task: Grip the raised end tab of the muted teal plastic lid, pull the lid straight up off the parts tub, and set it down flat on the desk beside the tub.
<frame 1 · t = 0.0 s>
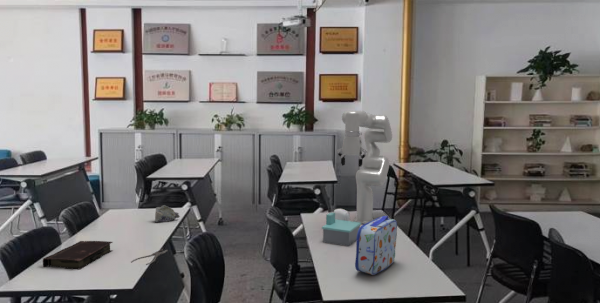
hand: (351, 165, 247), 37 cm above the table, tool pointing down, fingers open, 9 cm apart
mineral rock: (166, 221, 271), on the table
diary: (80, 259, 207), on the table
lunch box: (376, 268, 197), on the table
lid: (341, 229, 235), point 5 cm above the table, touching tub
photo printer: (341, 231, 252), on the table
pliers: (149, 257, 209), on the table
tub: (341, 239, 236), on the table
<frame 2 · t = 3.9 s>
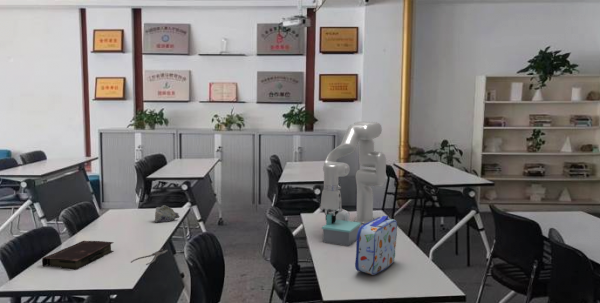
hand: (330, 222, 238), 9 cm above the table, tool pointing down, fingers closed on lid, 2 cm apart
lid: (341, 229, 235), point 5 cm above the table, touching gripper, tub
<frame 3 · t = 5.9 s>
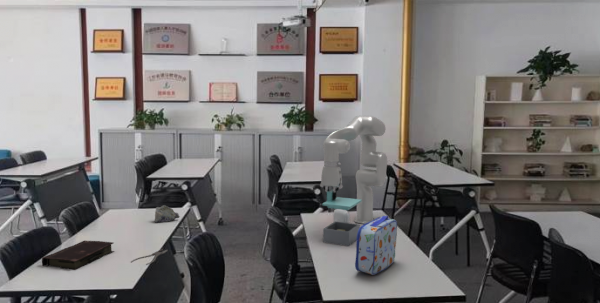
hand: (331, 199, 237), 21 cm above the table, tool pointing down, fingers closed on lid, 2 cm apart
lid: (342, 206, 234), point 18 cm above the table, touching gripper
everything else where it was.
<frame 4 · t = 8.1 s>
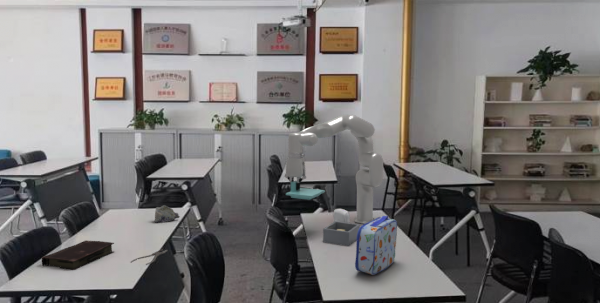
hand: (295, 189, 245), 24 cm above the table, tool pointing down, fingers closed on lid, 2 cm apart
lid: (305, 196, 243), point 21 cm above the table, touching gripper
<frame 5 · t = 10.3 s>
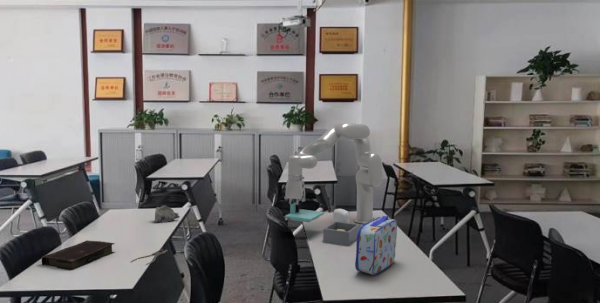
hand: (294, 211, 247), 12 cm above the table, tool pointing down, fingers closed on lid, 2 cm apart
lid: (305, 218, 244), point 9 cm above the table, touching gripper
when the fingers open (5 cm above the table, at t = 12.3 s): lid drops 2 cm, on the table.
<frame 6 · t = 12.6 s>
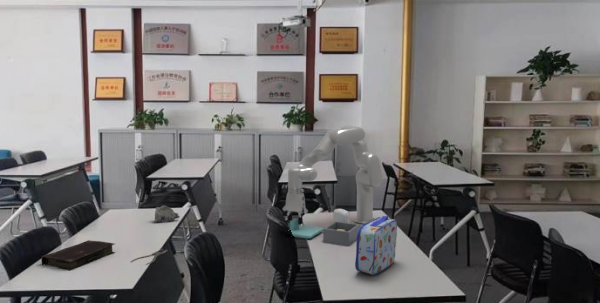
hand: (295, 223, 247), 5 cm above the table, tool pointing down, fingers open, 5 cm apart
lid: (304, 234, 245), on the table
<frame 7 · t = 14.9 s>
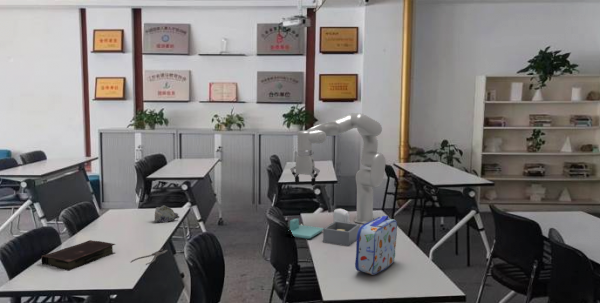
hand: (305, 184, 248), 26 cm above the table, tool pointing down, fingers open, 9 cm apart
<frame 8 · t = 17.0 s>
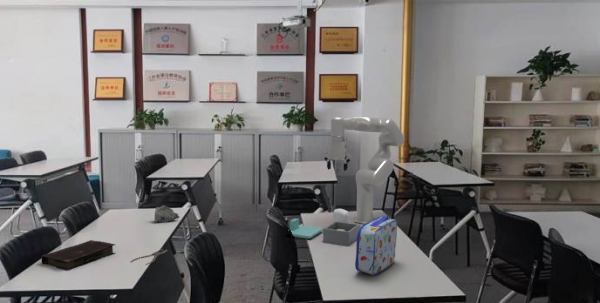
hand: (337, 169, 255), 33 cm above the table, tool pointing down, fingers open, 9 cm apart
at the end: lid inside the target area (0.4 cm from its centre), on the table; lid touching table; lid tilted 0° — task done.
